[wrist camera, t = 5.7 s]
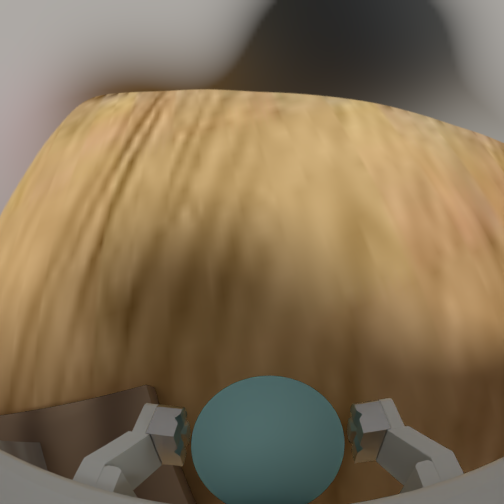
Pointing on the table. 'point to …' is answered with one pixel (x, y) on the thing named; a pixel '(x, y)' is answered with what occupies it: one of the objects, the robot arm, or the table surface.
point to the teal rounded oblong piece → (267, 442)
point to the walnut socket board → (88, 439)
